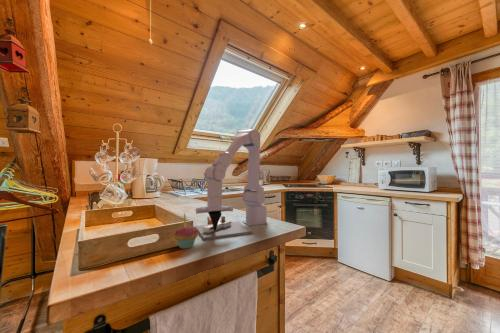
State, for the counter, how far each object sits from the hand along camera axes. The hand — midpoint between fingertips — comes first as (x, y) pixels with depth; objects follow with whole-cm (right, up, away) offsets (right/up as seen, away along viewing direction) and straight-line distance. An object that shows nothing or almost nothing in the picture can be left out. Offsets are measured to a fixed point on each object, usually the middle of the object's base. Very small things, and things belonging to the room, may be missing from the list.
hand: (214, 230), depth 91 cm
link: (0, -1, +5) cm, 5 cm away
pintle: (+2, -2, +9) cm, 9 cm away
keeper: (-3, -2, +8) cm, 9 cm away
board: (+3, -2, +6) cm, 7 cm away
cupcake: (-8, -3, -11) cm, 14 cm away
